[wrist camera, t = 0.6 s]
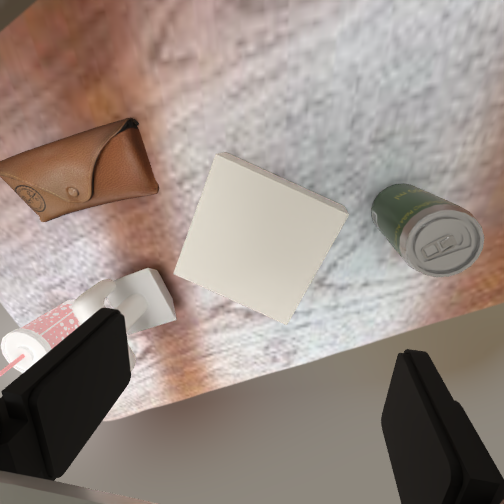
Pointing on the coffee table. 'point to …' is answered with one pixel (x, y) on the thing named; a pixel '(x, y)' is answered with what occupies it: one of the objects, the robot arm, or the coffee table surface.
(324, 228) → the riser block
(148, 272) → the figurine
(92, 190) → the sunglasses case
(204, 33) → the coffee table surface
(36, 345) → the beverage cup
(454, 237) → the beer can
